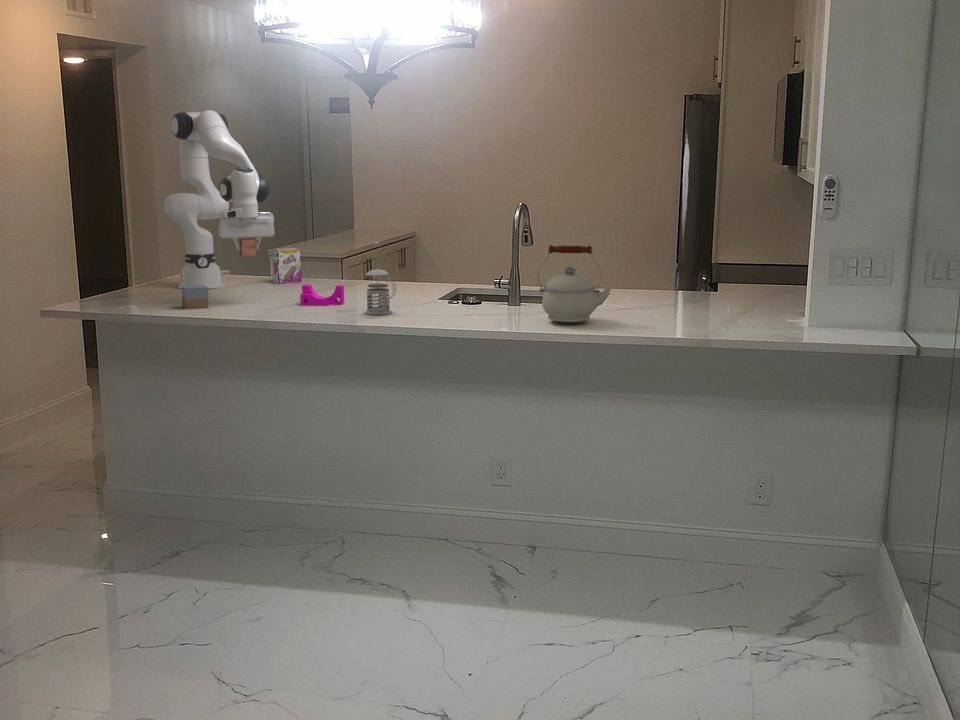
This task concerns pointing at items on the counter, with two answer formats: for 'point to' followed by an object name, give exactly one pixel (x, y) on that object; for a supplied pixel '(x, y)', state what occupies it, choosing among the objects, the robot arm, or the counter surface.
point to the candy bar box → (287, 265)
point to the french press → (378, 290)
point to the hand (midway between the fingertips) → (247, 249)
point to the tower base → (195, 303)
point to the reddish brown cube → (247, 247)
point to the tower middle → (195, 292)
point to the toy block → (314, 299)
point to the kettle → (571, 291)
